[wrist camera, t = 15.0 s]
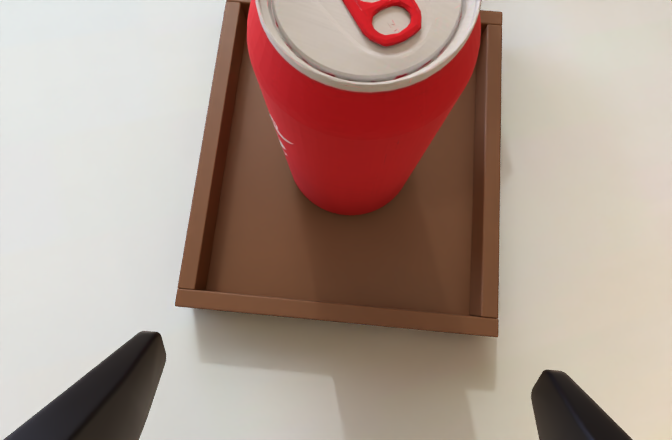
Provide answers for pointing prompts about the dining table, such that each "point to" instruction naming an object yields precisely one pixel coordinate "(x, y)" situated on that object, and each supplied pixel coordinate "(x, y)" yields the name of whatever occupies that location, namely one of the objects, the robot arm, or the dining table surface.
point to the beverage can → (360, 88)
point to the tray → (346, 230)
